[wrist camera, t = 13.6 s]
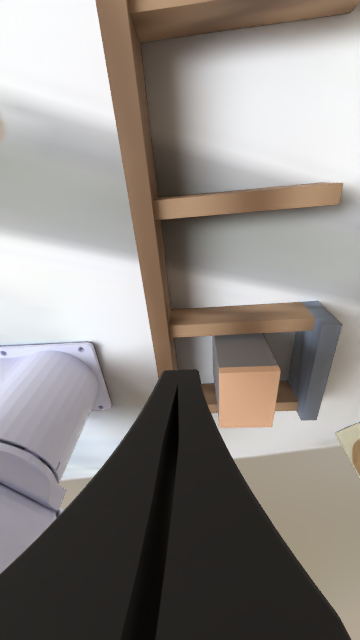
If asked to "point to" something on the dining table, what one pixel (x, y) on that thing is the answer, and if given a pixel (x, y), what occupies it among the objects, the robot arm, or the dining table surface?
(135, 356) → the dining table surface
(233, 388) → the tan box
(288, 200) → the divider rack
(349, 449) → the skincare box
